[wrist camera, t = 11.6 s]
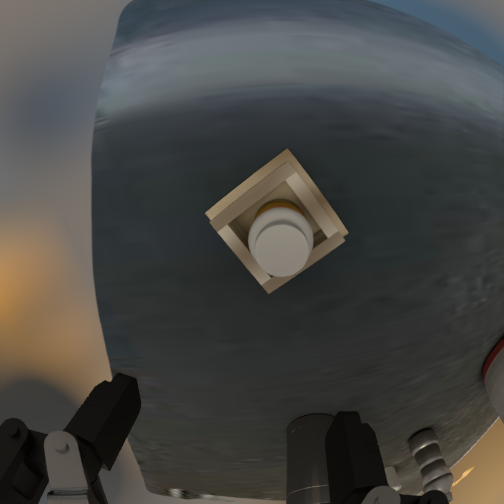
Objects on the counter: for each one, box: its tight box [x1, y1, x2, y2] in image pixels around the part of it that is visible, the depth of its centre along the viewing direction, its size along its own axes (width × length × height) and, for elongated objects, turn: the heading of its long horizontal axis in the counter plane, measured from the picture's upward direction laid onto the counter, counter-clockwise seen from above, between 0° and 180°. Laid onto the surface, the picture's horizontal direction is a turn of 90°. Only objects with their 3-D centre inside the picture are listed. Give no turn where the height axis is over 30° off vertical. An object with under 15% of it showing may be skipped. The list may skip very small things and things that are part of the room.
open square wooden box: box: [205, 148, 348, 294], centre depth 27 cm, size 11×11×5 cm
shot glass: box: [384, 467, 401, 491], centre depth 43 cm, size 7×7×7 cm
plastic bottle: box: [409, 430, 453, 502], centre depth 31 cm, size 6×7×20 cm
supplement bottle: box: [248, 199, 314, 277], centre depth 24 cm, size 5×5×10 cm
